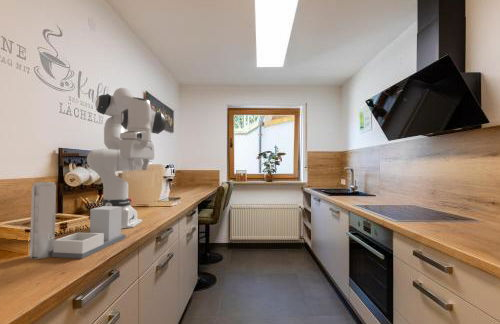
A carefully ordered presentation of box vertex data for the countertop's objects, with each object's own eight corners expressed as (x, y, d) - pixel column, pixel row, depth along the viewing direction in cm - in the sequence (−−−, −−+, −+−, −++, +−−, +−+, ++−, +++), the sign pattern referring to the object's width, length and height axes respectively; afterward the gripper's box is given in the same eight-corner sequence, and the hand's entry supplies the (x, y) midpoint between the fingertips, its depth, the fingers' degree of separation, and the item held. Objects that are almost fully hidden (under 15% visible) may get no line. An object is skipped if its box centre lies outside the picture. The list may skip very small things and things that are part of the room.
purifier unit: (101, 236, 109) (102, 205, 110) (125, 237, 108) (126, 206, 108) (51, 256, 85) (53, 216, 85) (82, 258, 84) (83, 217, 84)
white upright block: (25, 257, 84) (28, 182, 85) (48, 251, 90) (50, 181, 91) (35, 260, 81) (37, 183, 82) (58, 254, 87) (60, 182, 88)
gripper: (145, 139, 115) (144, 169, 115) (117, 133, 95) (116, 170, 94) (158, 139, 114) (157, 170, 114) (133, 133, 94) (132, 170, 94)
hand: (138, 170), depth 104 cm, fingers open, 8 cm apart
